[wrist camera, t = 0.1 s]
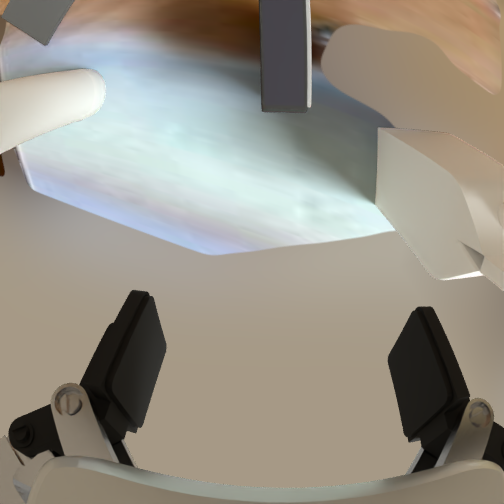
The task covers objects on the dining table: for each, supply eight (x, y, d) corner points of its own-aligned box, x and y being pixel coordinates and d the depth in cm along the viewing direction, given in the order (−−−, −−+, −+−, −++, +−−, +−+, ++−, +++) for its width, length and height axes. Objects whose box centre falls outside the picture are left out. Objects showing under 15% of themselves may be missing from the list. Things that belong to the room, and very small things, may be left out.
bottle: (91, 57, 29) (-96, 96, 4) (116, 94, 33) (-75, 167, 8) (59, 93, 32) (-106, 161, 7) (82, 128, 35) (-81, 224, 11)
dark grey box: (300, 101, 33) (317, 114, 20) (266, 101, 33) (261, 112, 21) (299, 22, 27) (315, -12, 14) (264, 22, 27) (258, -14, 14)
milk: (374, 204, 40) (454, 344, 18) (377, 127, 33) (505, 213, 12) (441, 203, 38) (538, 320, 16) (449, 133, 32) (582, 216, 10)
